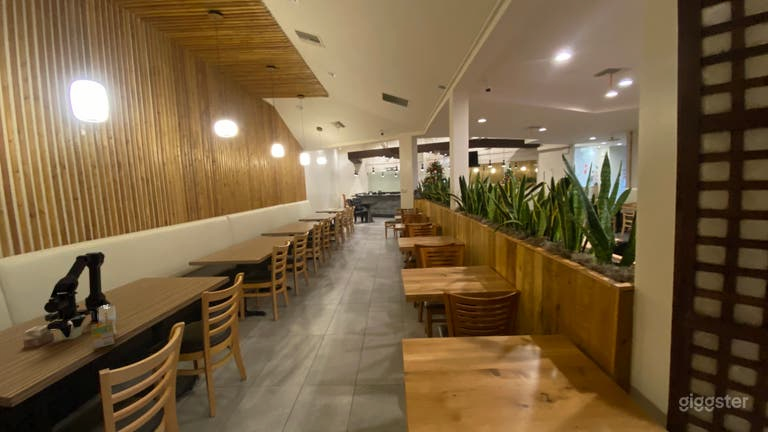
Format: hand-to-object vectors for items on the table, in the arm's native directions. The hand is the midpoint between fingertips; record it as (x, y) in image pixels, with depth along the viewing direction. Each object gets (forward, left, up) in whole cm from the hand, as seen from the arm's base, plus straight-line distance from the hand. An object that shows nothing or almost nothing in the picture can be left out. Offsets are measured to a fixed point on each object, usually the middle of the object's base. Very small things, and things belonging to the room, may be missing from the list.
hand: (72, 334), depth 156 cm
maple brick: (+11, +4, +3) cm, 12 cm away
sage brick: (0, 0, -1) cm, 1 cm away
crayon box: (-24, +14, -1) cm, 28 cm away
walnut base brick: (+11, +4, -1) cm, 12 cm away
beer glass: (-18, +2, -1) cm, 18 cm away
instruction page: (+19, -19, -1) cm, 27 cm away
